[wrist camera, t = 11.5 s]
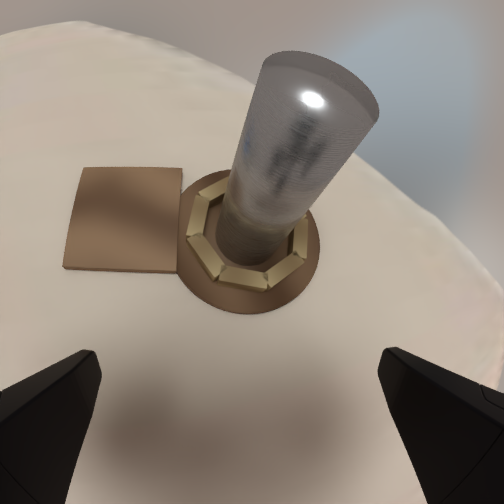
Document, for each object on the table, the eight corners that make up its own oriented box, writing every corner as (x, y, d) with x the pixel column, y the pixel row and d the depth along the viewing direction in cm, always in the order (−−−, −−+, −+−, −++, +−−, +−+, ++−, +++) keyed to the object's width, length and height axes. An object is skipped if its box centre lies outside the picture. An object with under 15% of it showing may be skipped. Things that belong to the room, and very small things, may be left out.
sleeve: (229, 274, 19) (301, 134, 7) (206, 216, 20) (242, 50, 9) (287, 254, 21) (400, 127, 9) (262, 201, 22) (337, 54, 10)
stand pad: (176, 273, 19) (176, 270, 18) (65, 269, 17) (62, 266, 17) (182, 172, 22) (182, 168, 21) (85, 171, 20) (83, 167, 19)
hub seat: (230, 347, 18) (235, 346, 17) (139, 215, 20) (136, 203, 18) (343, 257, 22) (354, 249, 21) (257, 154, 24) (262, 141, 23)
